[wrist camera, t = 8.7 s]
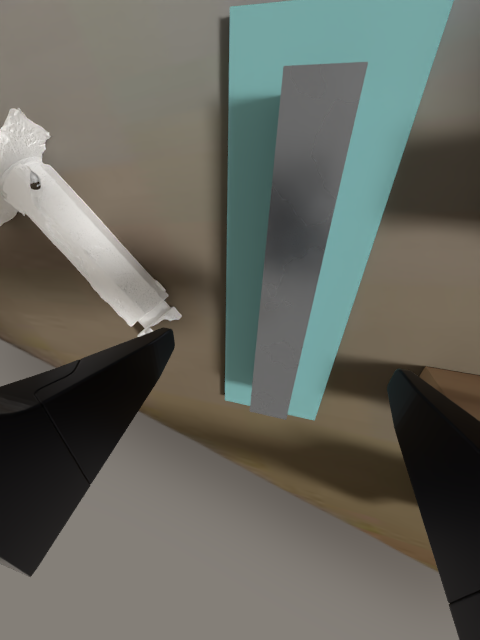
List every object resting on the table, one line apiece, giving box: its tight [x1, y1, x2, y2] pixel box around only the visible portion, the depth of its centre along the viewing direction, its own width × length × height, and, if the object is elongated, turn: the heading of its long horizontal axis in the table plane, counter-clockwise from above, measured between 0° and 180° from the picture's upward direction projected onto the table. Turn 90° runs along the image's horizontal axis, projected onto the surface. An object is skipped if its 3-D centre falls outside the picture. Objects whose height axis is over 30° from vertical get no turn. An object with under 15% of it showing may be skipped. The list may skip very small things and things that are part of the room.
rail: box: [250, 62, 368, 420], centre depth 15 cm, size 20×3×3 cm, turn 178°
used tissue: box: [0, 107, 182, 337], centre depth 18 cm, size 11×18×4 cm, turn 27°
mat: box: [225, 0, 454, 420], centre depth 16 cm, size 26×9×1 cm, turn 178°
